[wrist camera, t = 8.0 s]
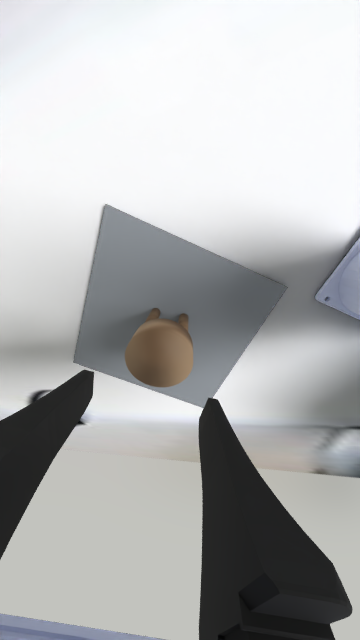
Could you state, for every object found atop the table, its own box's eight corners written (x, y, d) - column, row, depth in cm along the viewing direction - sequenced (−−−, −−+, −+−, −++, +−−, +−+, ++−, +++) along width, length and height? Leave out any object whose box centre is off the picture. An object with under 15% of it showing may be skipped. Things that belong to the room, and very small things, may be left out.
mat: (285, 286, 18) (287, 287, 17) (204, 406, 24) (205, 408, 24) (107, 204, 16) (105, 203, 15) (75, 360, 23) (73, 362, 22)
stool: (197, 309, 19) (200, 338, 13) (186, 352, 21) (185, 392, 15) (145, 299, 18) (127, 324, 13) (140, 343, 21) (122, 381, 15)
